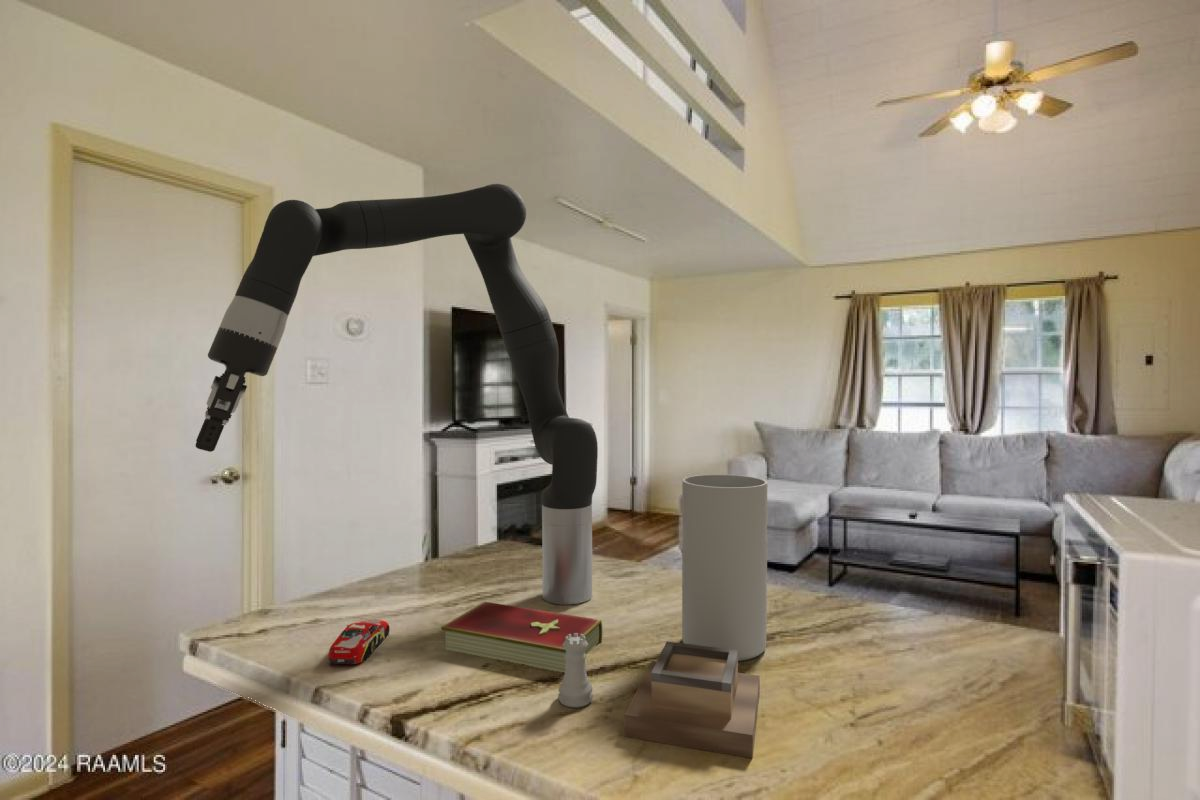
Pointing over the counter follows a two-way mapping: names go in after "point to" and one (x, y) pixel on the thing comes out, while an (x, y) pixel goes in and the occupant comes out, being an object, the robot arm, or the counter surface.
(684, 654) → the walnut plinth
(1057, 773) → the counter surface
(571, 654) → the rook chess piece
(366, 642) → the race car
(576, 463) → the robot arm
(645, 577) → the counter surface
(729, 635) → the cylinder vase
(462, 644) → the hardcover book
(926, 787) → the counter surface
